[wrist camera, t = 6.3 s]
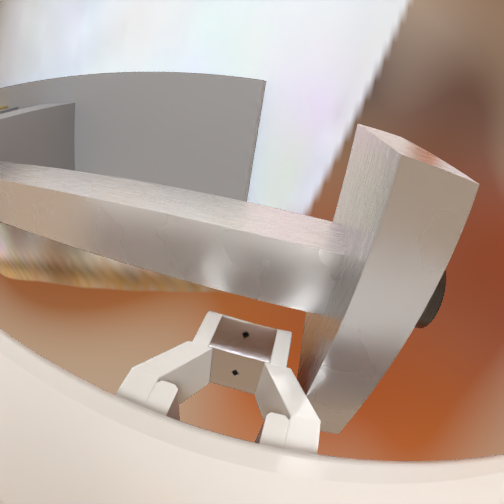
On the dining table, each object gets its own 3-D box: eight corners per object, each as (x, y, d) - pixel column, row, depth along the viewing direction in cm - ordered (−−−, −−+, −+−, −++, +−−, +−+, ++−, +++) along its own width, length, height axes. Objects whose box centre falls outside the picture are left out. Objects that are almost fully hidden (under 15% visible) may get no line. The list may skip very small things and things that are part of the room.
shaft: (-37, 109, 12) (-101, 133, 7) (439, 150, 9) (534, 211, 4) (-27, 209, 16) (-81, 245, 11) (372, 322, 13) (383, 438, 8)
